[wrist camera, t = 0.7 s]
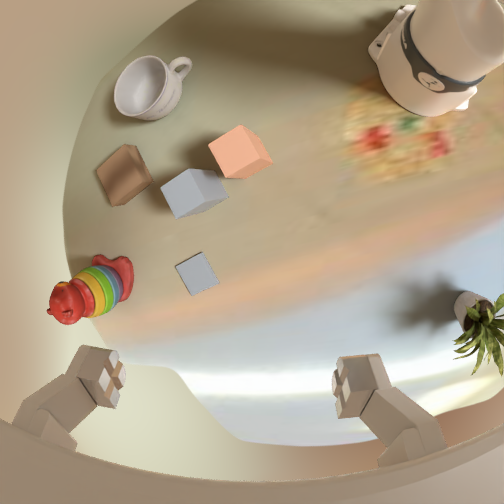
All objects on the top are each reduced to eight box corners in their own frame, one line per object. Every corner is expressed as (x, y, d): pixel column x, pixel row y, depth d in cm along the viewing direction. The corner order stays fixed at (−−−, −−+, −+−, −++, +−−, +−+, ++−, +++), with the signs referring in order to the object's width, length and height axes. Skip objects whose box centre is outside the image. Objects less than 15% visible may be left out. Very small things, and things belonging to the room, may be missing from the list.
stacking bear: (132, 256, 54) (67, 285, 37) (138, 304, 56) (81, 344, 40) (93, 253, 56) (31, 277, 40) (100, 298, 59) (43, 330, 42)
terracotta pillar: (230, 151, 45) (207, 144, 36) (258, 136, 44) (241, 124, 34) (245, 178, 46) (225, 177, 36) (273, 163, 44) (260, 158, 35)
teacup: (142, 131, 48) (115, 126, 40) (135, 81, 46) (109, 71, 38) (211, 106, 44) (191, 94, 37) (200, 54, 42) (181, 36, 35)
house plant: (449, 249, 40) (497, 280, 25) (504, 268, 38) (555, 300, 23) (421, 326, 44) (451, 381, 29) (476, 338, 42) (513, 386, 26)
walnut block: (109, 170, 52) (96, 170, 48) (136, 146, 49) (124, 144, 45) (125, 204, 52) (112, 206, 48) (154, 181, 50) (142, 182, 46)
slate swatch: (176, 266, 52) (175, 266, 52) (202, 252, 50) (201, 252, 50) (192, 295, 53) (191, 295, 52) (219, 282, 51) (218, 283, 50)
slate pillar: (190, 185, 48) (160, 187, 39) (214, 170, 47) (188, 168, 37) (203, 211, 49) (176, 219, 39) (229, 197, 47) (205, 201, 38)
